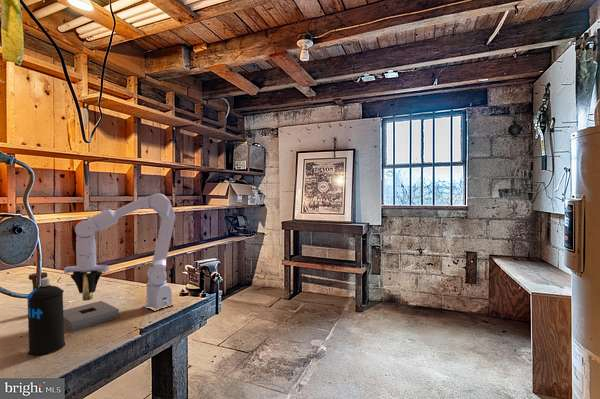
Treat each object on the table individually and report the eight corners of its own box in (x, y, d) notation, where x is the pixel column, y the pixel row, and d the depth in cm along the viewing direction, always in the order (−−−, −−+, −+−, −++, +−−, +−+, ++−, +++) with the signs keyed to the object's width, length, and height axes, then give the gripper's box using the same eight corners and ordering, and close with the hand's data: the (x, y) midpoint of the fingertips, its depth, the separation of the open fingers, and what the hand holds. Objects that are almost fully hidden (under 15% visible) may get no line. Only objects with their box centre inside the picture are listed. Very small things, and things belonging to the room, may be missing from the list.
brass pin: (94, 297, 111) (94, 272, 111) (89, 300, 108) (89, 274, 108) (85, 298, 111) (85, 273, 111) (80, 300, 108) (80, 275, 108)
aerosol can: (61, 339, 93) (59, 273, 93) (69, 347, 88) (67, 277, 88) (25, 350, 87) (22, 279, 87) (31, 359, 82) (29, 284, 81)
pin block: (118, 317, 110) (118, 309, 110) (71, 331, 99) (71, 322, 99) (101, 308, 120) (101, 300, 119) (56, 320, 108) (56, 311, 108)
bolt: (36, 317, 112) (35, 276, 112) (25, 316, 113) (24, 275, 113) (52, 311, 118) (51, 272, 118) (41, 310, 119) (40, 271, 119)
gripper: (113, 251, 113) (114, 288, 113) (73, 252, 113) (74, 289, 113) (101, 255, 106) (102, 294, 106) (58, 256, 106) (60, 295, 106)
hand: (87, 292), depth 109 cm, fingers closed on brass pin, 3 cm apart
